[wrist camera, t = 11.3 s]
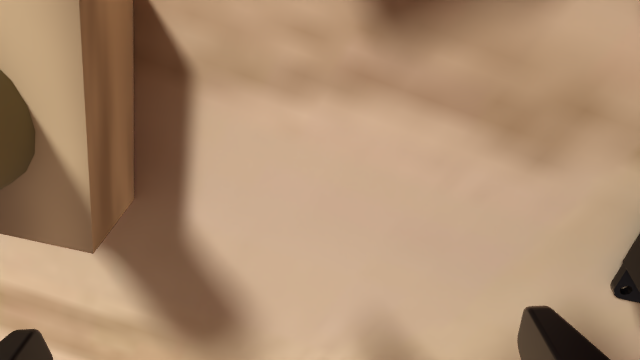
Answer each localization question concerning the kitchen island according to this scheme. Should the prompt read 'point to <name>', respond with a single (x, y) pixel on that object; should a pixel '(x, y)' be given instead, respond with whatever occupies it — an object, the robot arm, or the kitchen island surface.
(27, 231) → the cream square block
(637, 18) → the kitchen island surface
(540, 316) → the robot arm
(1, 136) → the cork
